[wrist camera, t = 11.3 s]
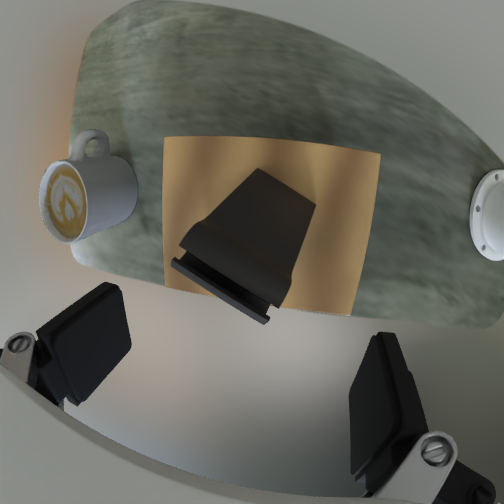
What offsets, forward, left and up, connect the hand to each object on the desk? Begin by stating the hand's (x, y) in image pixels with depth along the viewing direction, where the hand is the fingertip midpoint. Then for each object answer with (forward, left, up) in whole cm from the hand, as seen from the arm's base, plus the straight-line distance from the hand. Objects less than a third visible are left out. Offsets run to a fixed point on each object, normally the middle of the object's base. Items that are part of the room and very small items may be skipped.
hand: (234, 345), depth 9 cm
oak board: (+2, 0, -18) cm, 18 cm away
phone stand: (+2, 0, -17) cm, 17 cm away
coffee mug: (+24, -3, -24) cm, 34 cm away
